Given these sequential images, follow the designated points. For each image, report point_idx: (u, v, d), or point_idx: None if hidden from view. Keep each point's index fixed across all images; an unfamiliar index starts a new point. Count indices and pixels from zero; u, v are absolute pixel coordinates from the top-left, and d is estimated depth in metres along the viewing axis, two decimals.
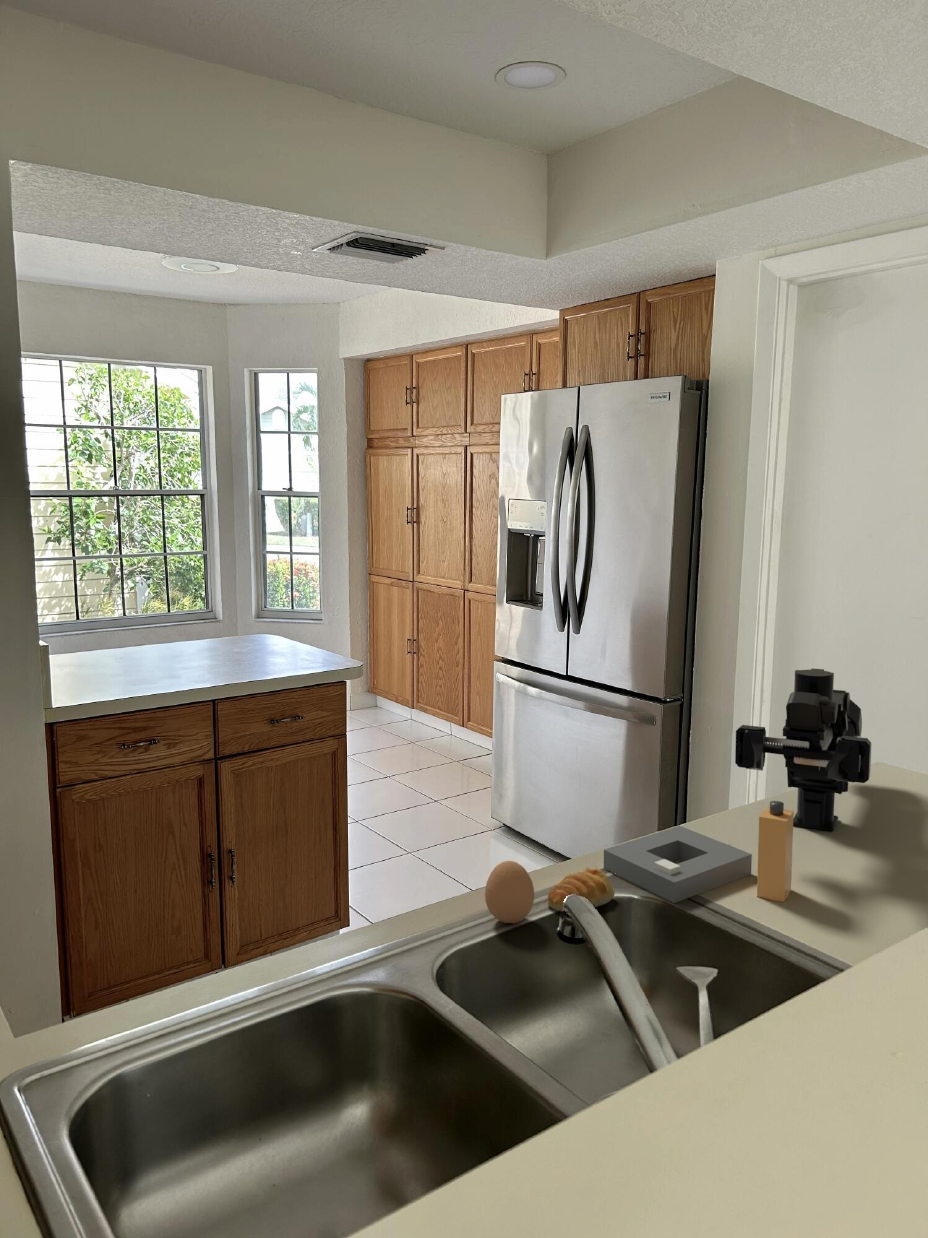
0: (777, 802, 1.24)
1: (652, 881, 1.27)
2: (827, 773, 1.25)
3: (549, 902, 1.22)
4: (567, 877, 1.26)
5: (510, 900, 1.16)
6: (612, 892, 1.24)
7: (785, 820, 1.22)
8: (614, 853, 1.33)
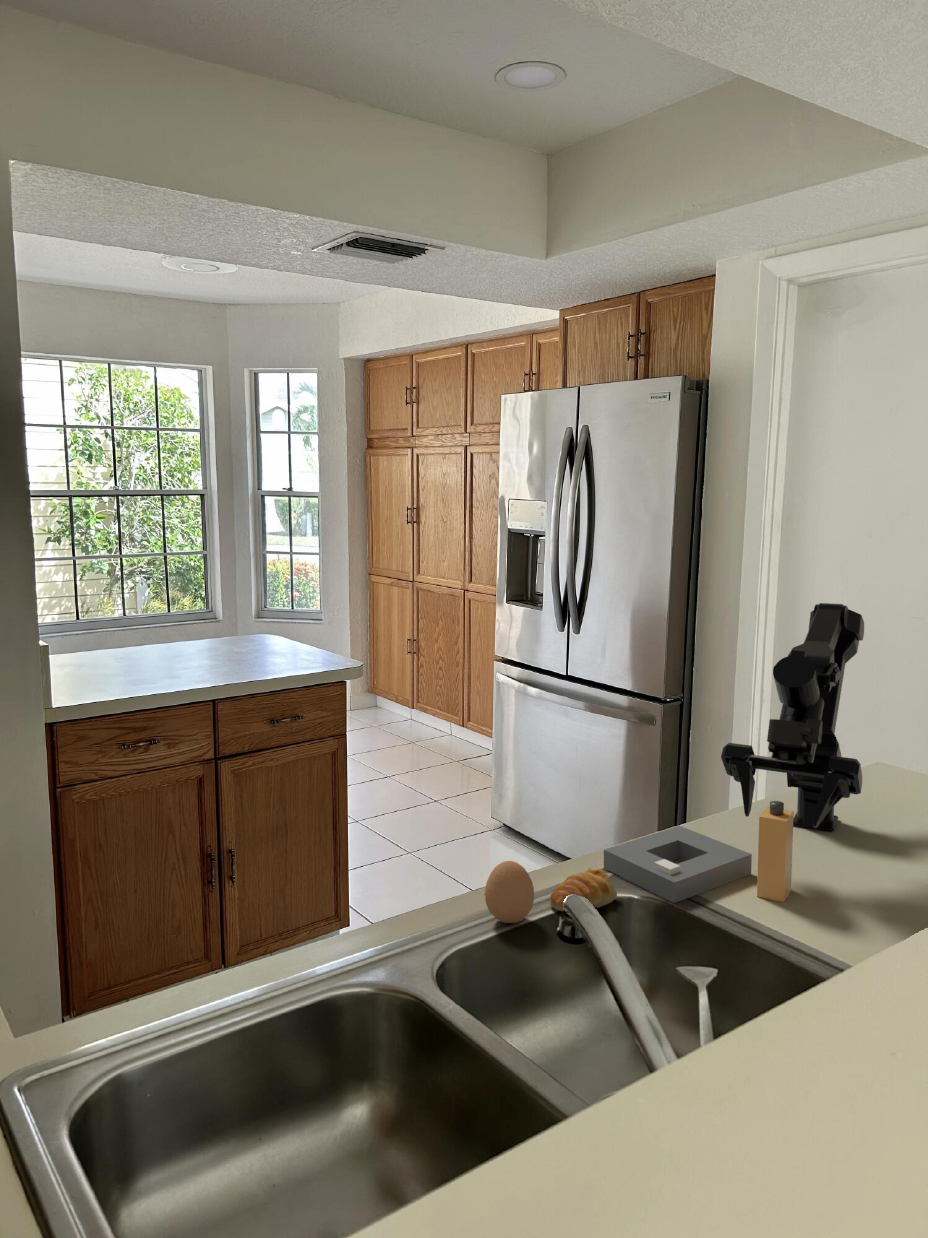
0: (777, 802, 1.24)
1: (652, 881, 1.27)
2: (815, 826, 1.24)
3: (552, 903, 1.22)
4: (569, 878, 1.26)
5: (510, 900, 1.16)
6: (614, 892, 1.24)
7: (785, 820, 1.22)
8: (614, 853, 1.33)
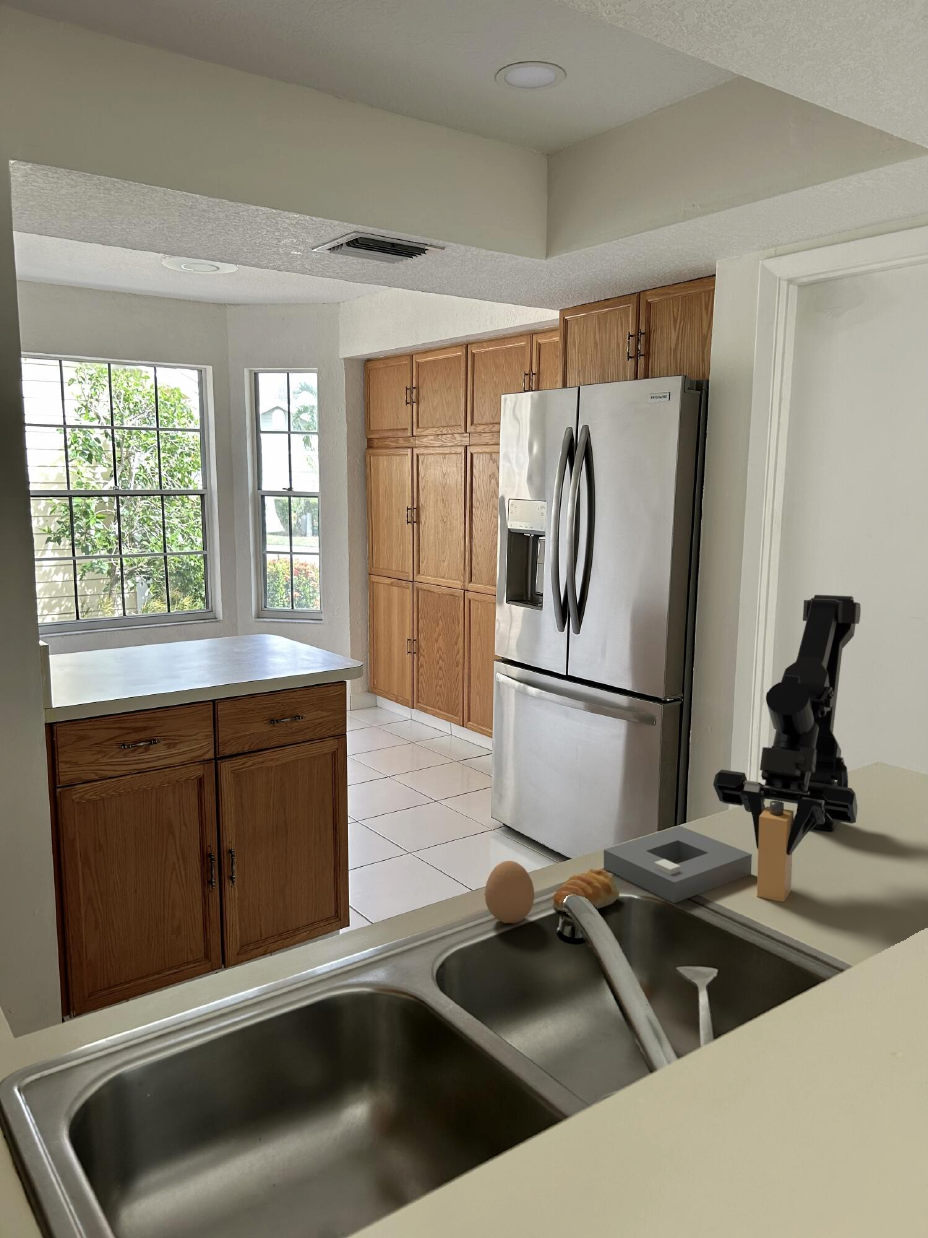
0: (777, 802, 1.24)
1: (652, 881, 1.27)
2: (789, 853, 1.23)
3: (555, 903, 1.22)
4: (571, 878, 1.26)
5: (510, 900, 1.16)
6: (617, 892, 1.24)
7: (785, 820, 1.22)
8: (614, 853, 1.33)
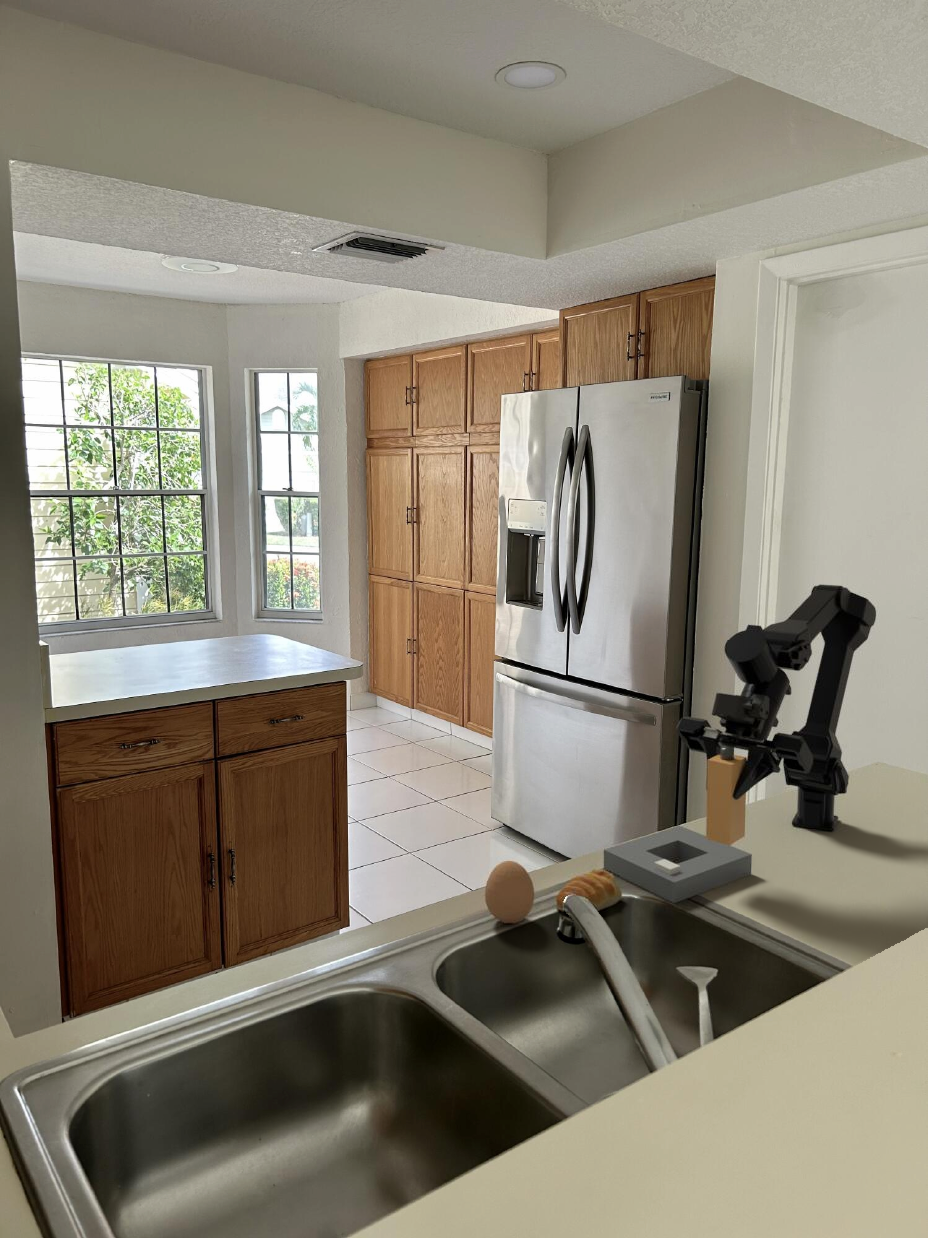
0: (728, 747, 1.26)
1: (652, 881, 1.27)
2: (735, 797, 1.25)
3: (558, 905, 1.22)
4: (574, 879, 1.25)
5: (510, 900, 1.16)
6: (620, 893, 1.24)
7: (731, 764, 1.24)
8: (614, 853, 1.33)
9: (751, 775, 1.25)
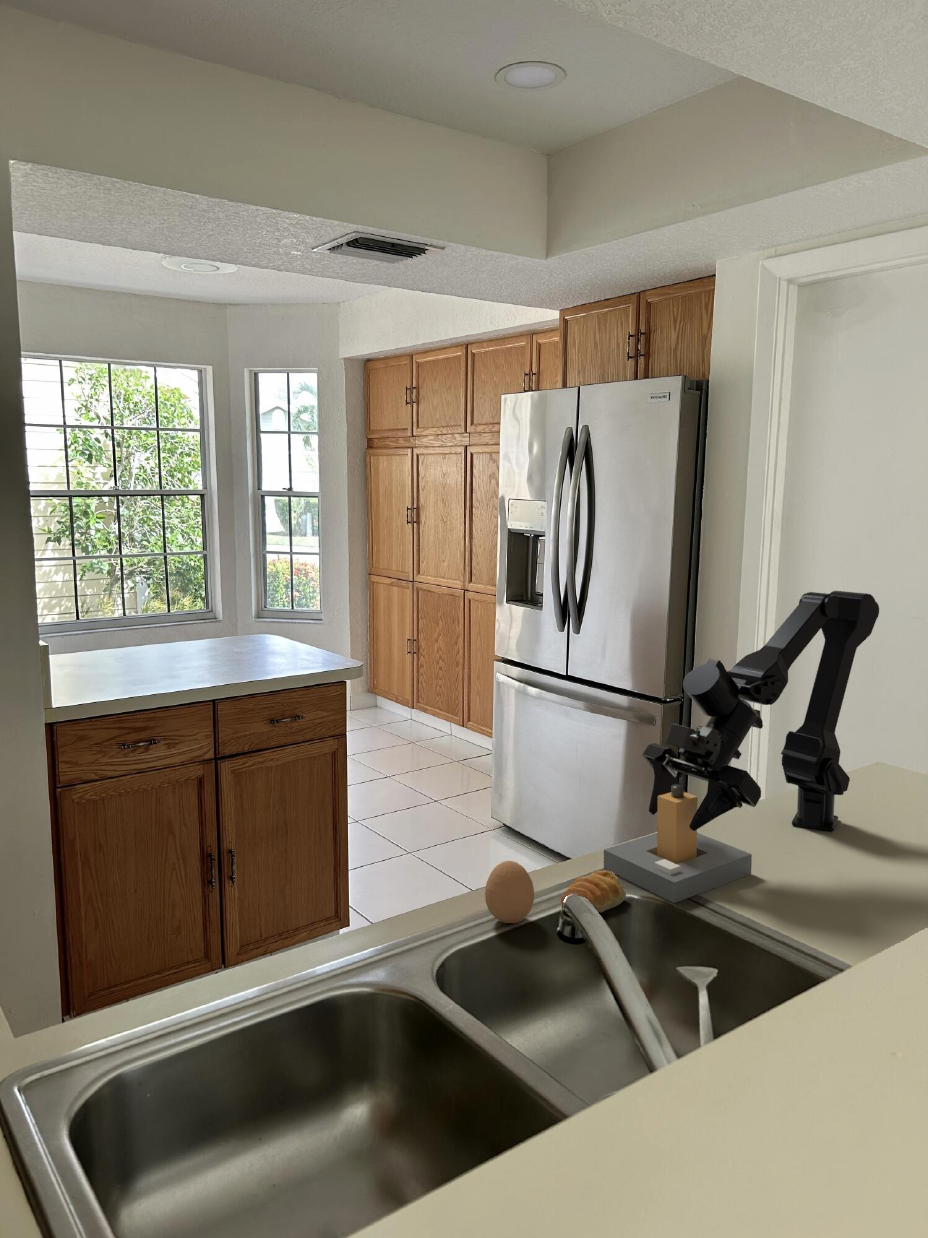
0: (679, 786, 1.32)
1: (652, 881, 1.27)
2: (692, 828, 1.28)
3: None
4: (578, 880, 1.25)
5: (510, 900, 1.16)
6: (624, 893, 1.24)
7: (676, 802, 1.30)
8: (614, 853, 1.33)
9: (710, 808, 1.28)
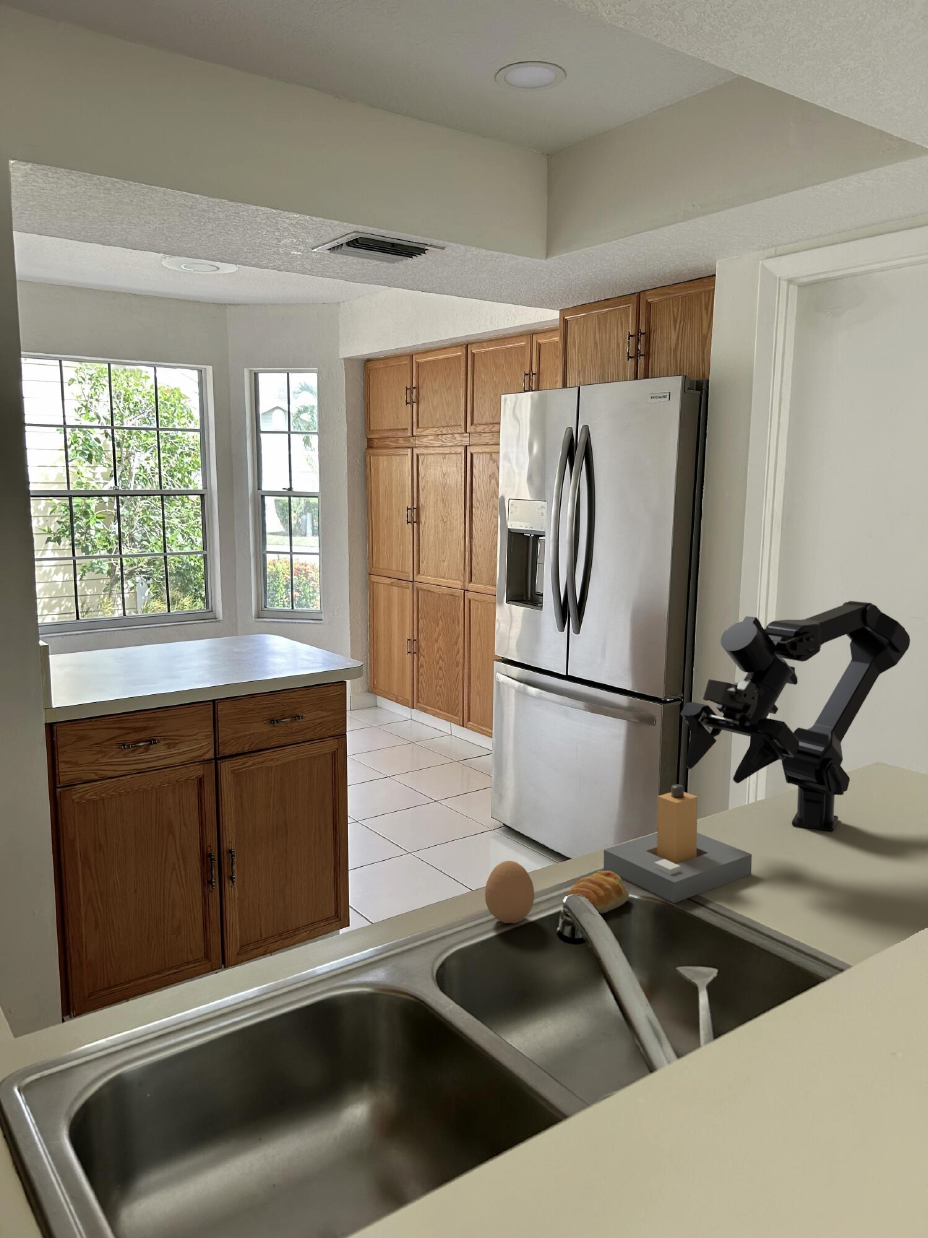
0: (679, 786, 1.32)
1: (652, 881, 1.27)
2: (736, 781, 1.31)
3: None
4: (581, 881, 1.25)
5: (510, 900, 1.16)
6: (627, 893, 1.24)
7: (676, 802, 1.30)
8: (614, 853, 1.33)
9: (752, 761, 1.31)
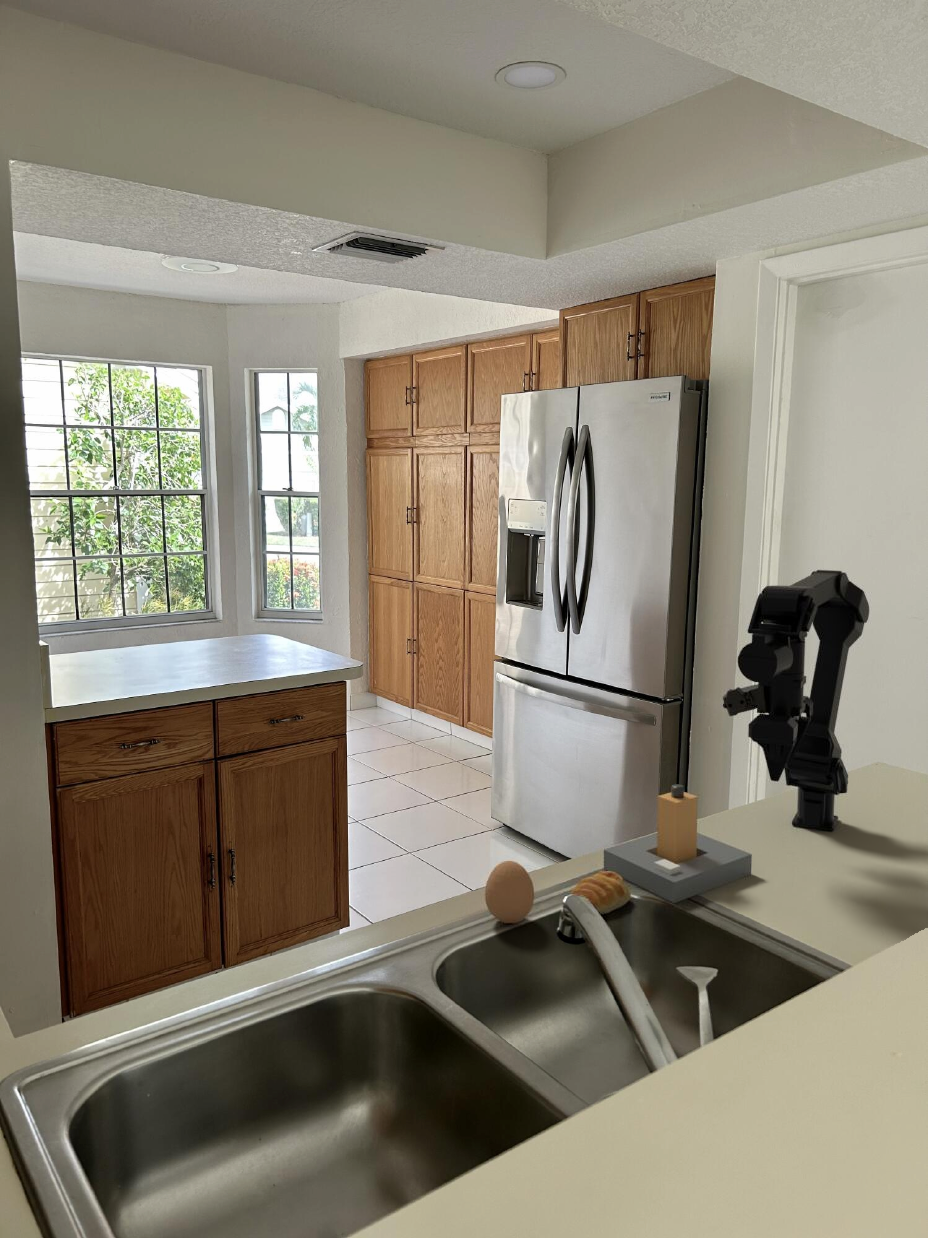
0: (679, 786, 1.32)
1: (652, 881, 1.27)
2: (774, 780, 1.33)
3: None
4: (583, 881, 1.25)
5: (510, 900, 1.16)
6: (629, 894, 1.24)
7: (676, 802, 1.30)
8: (614, 853, 1.33)
9: (771, 758, 1.32)
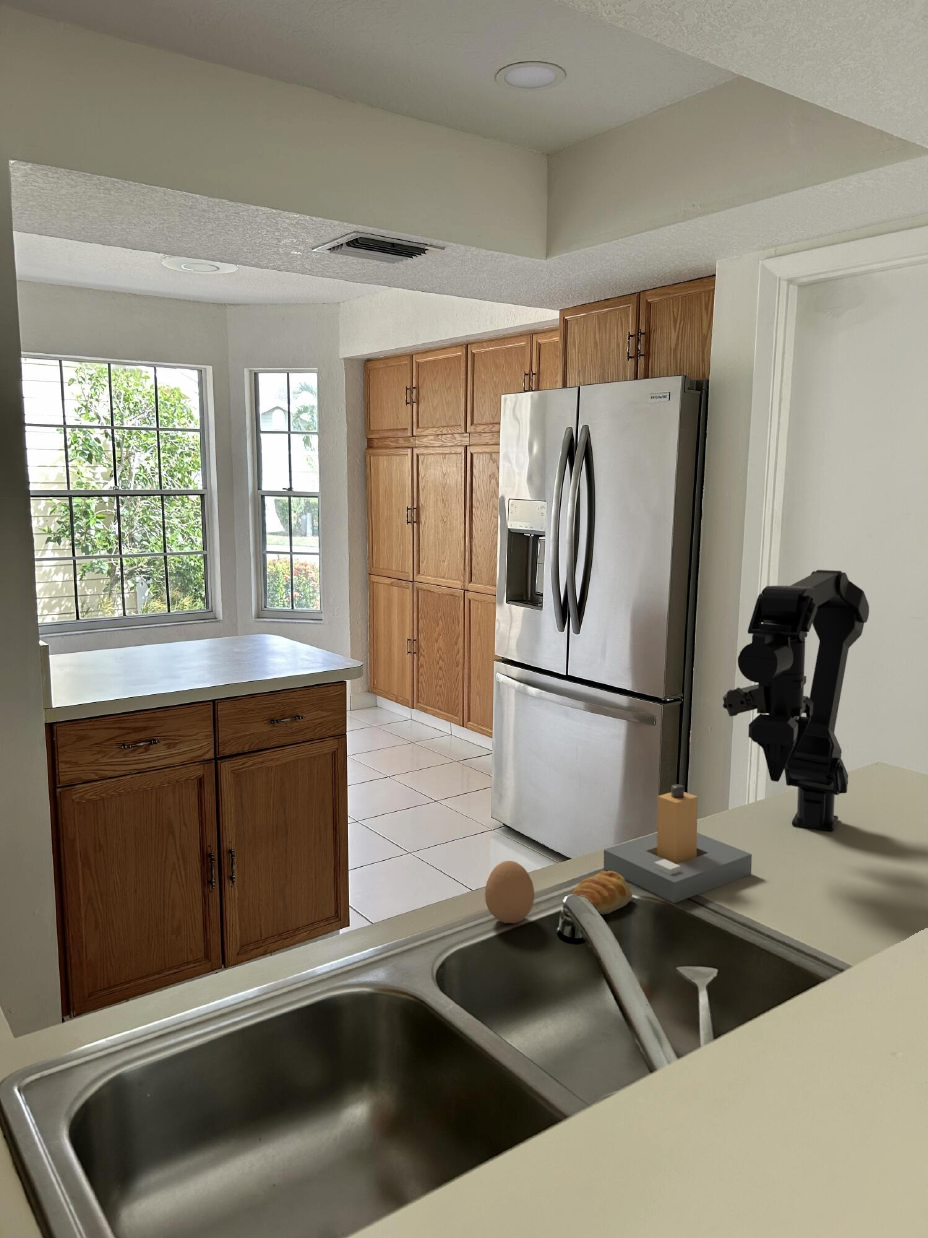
0: (679, 786, 1.32)
1: (652, 881, 1.27)
2: (774, 780, 1.33)
3: None
4: (584, 881, 1.25)
5: (510, 900, 1.16)
6: (630, 894, 1.24)
7: (676, 802, 1.30)
8: (614, 853, 1.33)
9: (772, 758, 1.32)
